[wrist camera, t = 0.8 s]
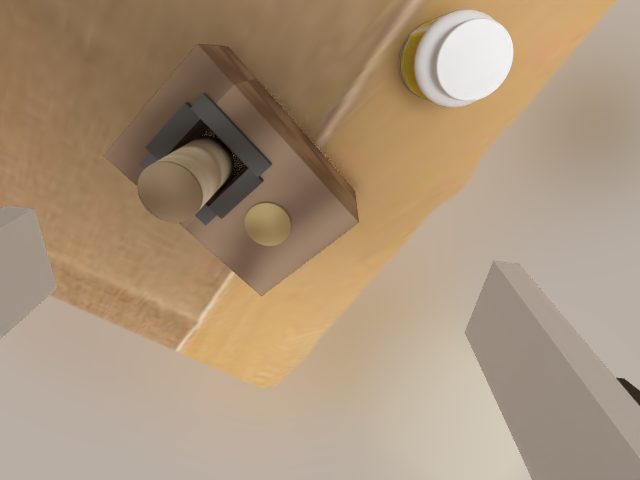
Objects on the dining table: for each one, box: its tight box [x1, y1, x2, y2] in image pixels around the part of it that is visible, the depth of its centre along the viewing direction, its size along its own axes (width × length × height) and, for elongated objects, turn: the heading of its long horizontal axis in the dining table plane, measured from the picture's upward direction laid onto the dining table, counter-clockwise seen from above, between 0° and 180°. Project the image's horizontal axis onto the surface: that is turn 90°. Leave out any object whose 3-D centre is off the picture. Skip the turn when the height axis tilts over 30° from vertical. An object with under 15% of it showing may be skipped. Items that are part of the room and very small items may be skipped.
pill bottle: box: [399, 9, 513, 107], centre depth 27 cm, size 6×6×11 cm
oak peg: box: [138, 136, 234, 223], centre depth 26 cm, size 4×4×8 cm
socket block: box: [103, 44, 359, 296], centre depth 34 cm, size 18×12×9 cm, turn 42°
